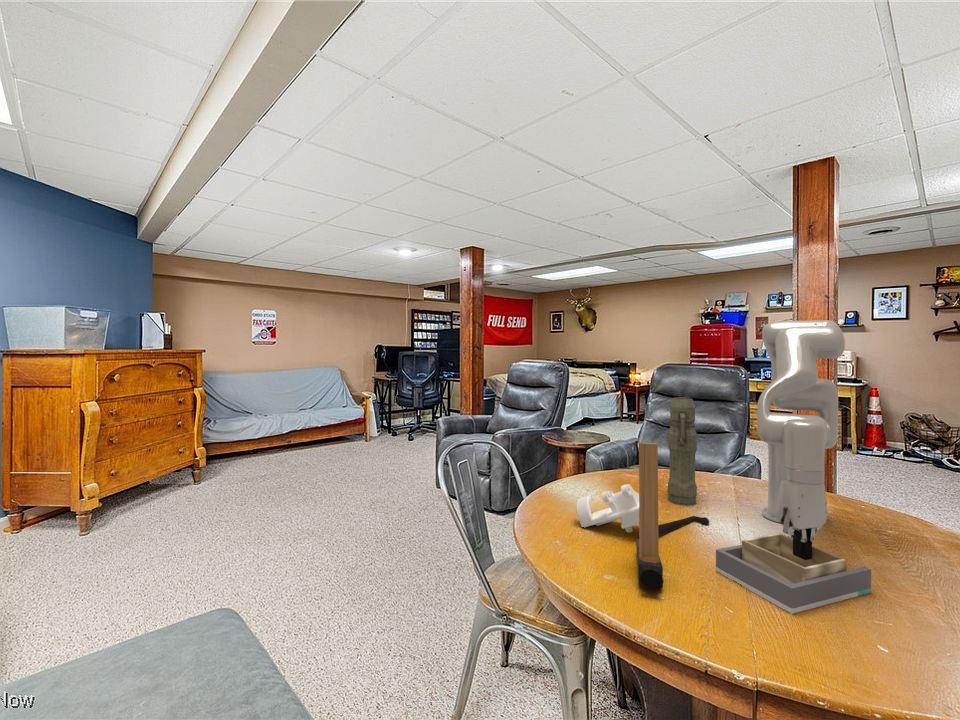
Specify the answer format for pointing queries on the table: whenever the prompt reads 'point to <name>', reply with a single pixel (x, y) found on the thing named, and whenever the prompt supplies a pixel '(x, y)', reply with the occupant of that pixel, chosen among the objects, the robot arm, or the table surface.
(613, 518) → the white plastic bracket
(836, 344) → the robot arm
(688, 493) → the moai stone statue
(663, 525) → the wrench
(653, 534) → the hammer
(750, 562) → the crate
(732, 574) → the bay
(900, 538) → the table surface
